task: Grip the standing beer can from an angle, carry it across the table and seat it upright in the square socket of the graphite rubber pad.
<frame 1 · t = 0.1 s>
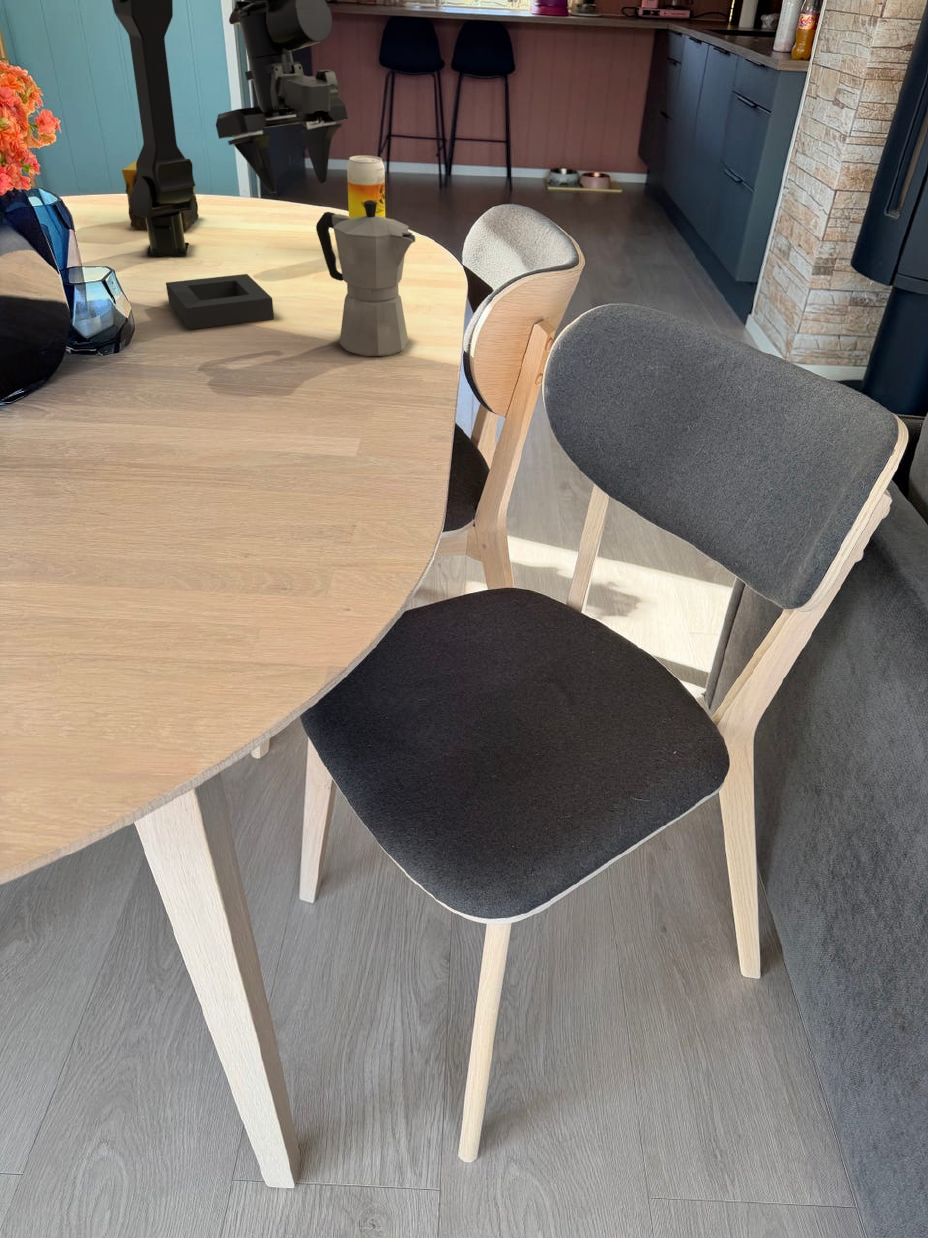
hand: (298, 187, 125), 15 cm above the table, tool pointing down, fingers open, 9 cm apart
socket pad: (220, 311, 129), on the table
coffeepot: (367, 343, 122), on the table
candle: (166, 225, 166), on the table
beer can: (368, 255, 155), on the table
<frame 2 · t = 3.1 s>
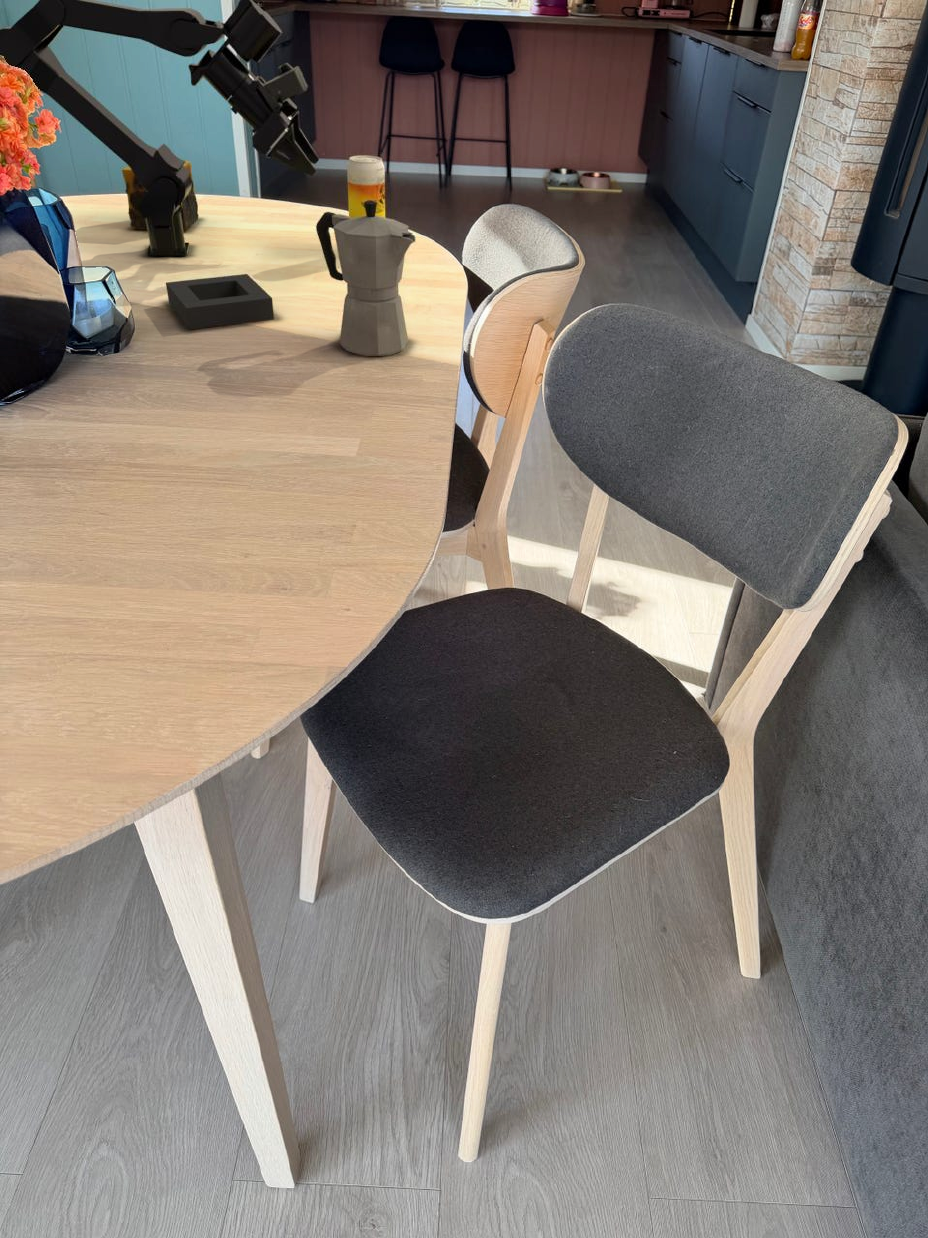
hand: (315, 167, 146), 14 cm above the table, tool tilted 45°, fingers open, 9 cm apart
nothing on the table moved.
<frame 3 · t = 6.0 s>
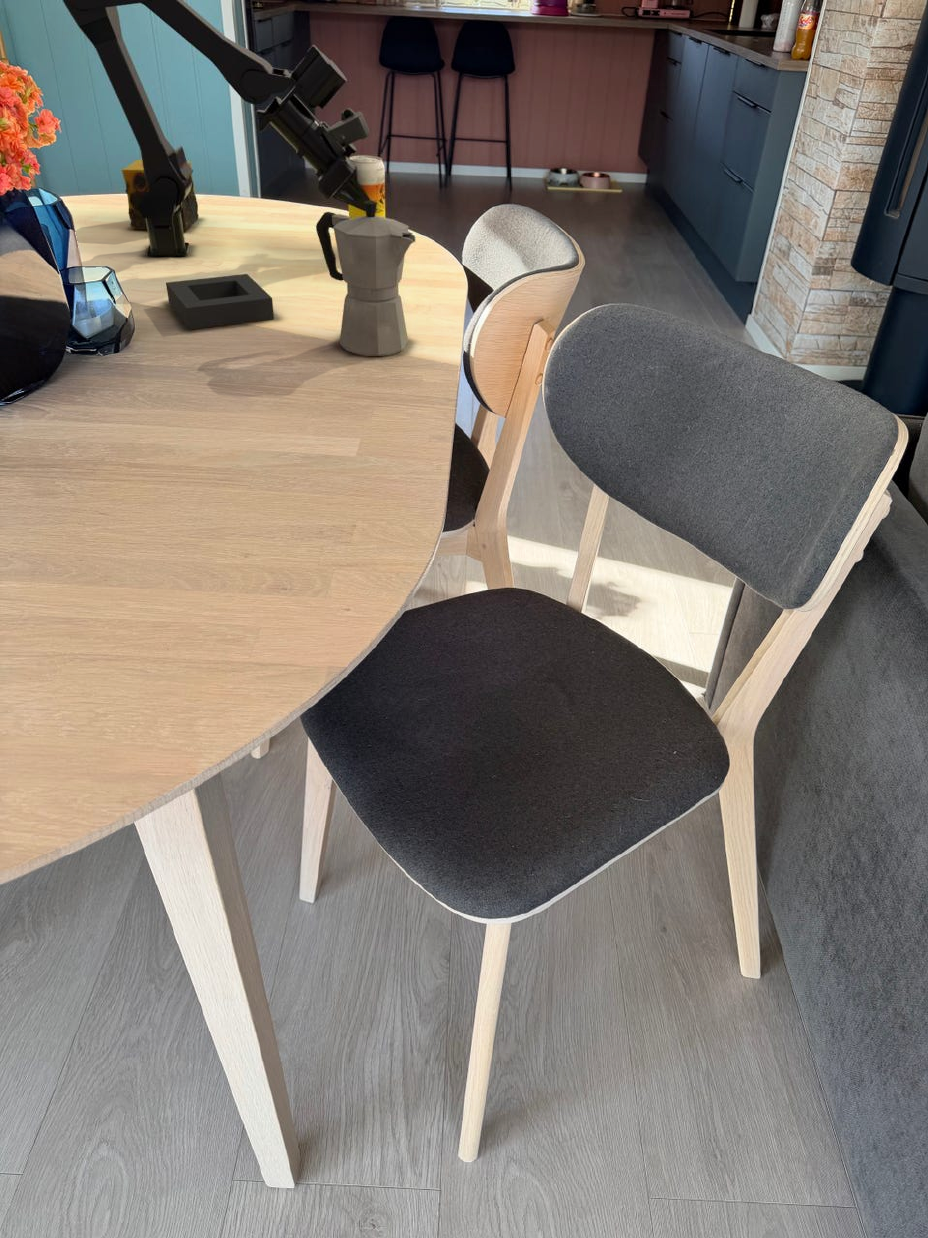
hand: (375, 207, 150), 8 cm above the table, tool tilted 45°, fingers closed on beer can, 6 cm apart
beer can: (368, 255, 155), on the table, touching gripper
everything else where it was.
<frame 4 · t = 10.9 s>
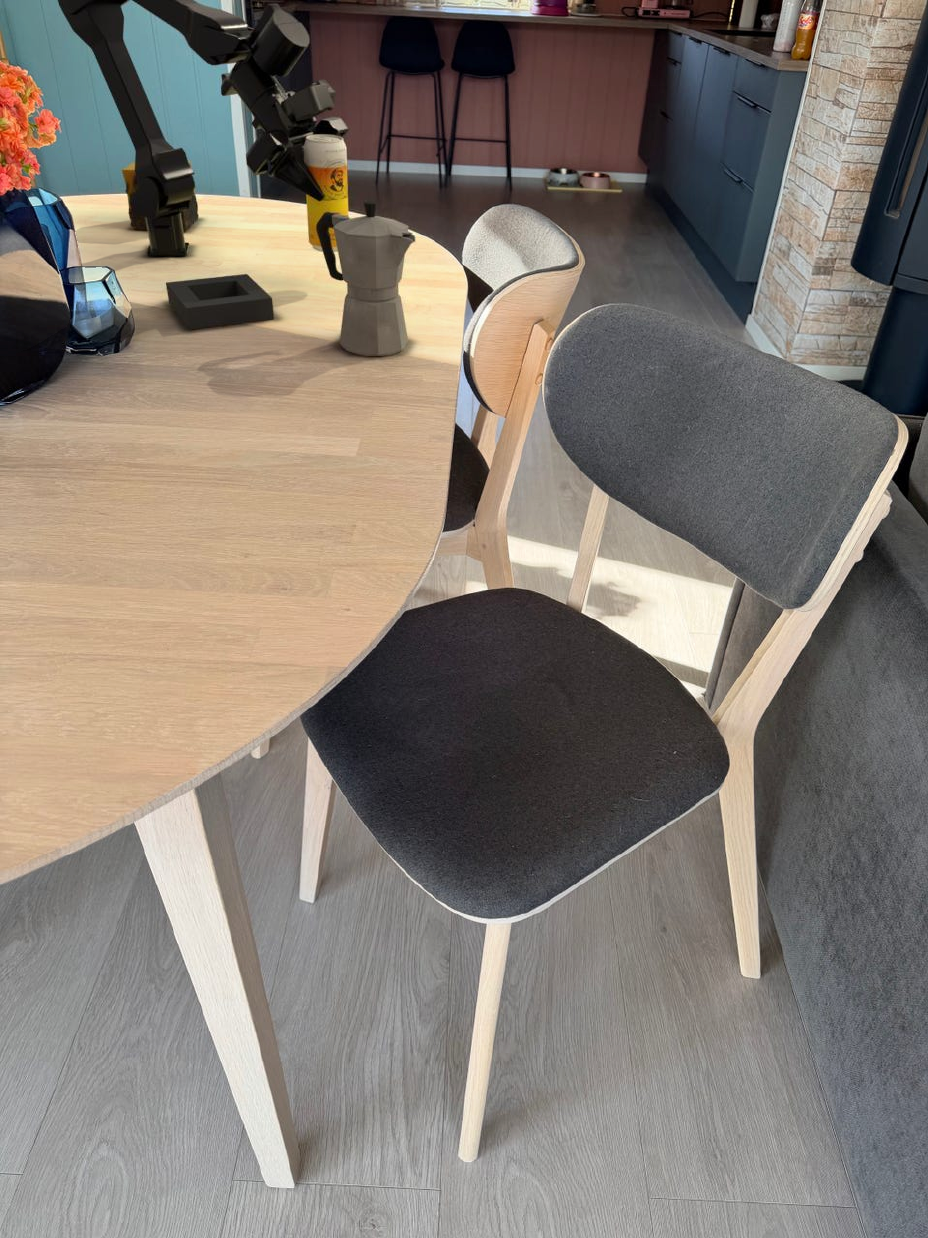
hand: (334, 195, 132), 13 cm above the table, tool tilted 45°, fingers closed on beer can, 6 cm apart
beer can: (329, 248, 137), point 5 cm above the table, touching gripper
everything else where it was.
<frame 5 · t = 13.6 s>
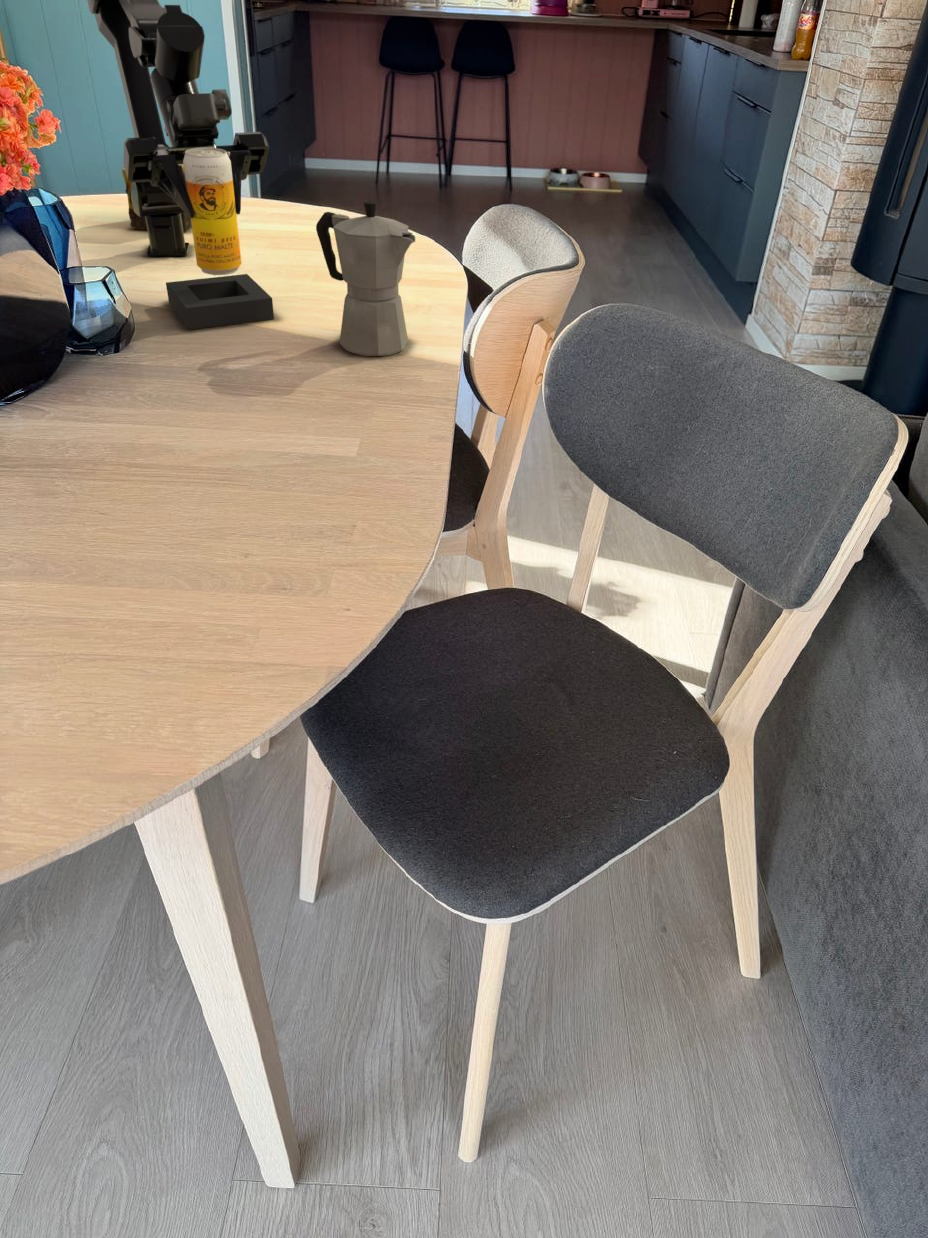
hand: (215, 214, 121), 13 cm above the table, tool tilted 45°, fingers closed on beer can, 6 cm apart
beer can: (220, 270, 126), point 5 cm above the table, touching gripper
everything else where it was.
when the fingers open (8 cm above the table, at t = 16.1 s): beer can stays where it is, resting in socket pad.
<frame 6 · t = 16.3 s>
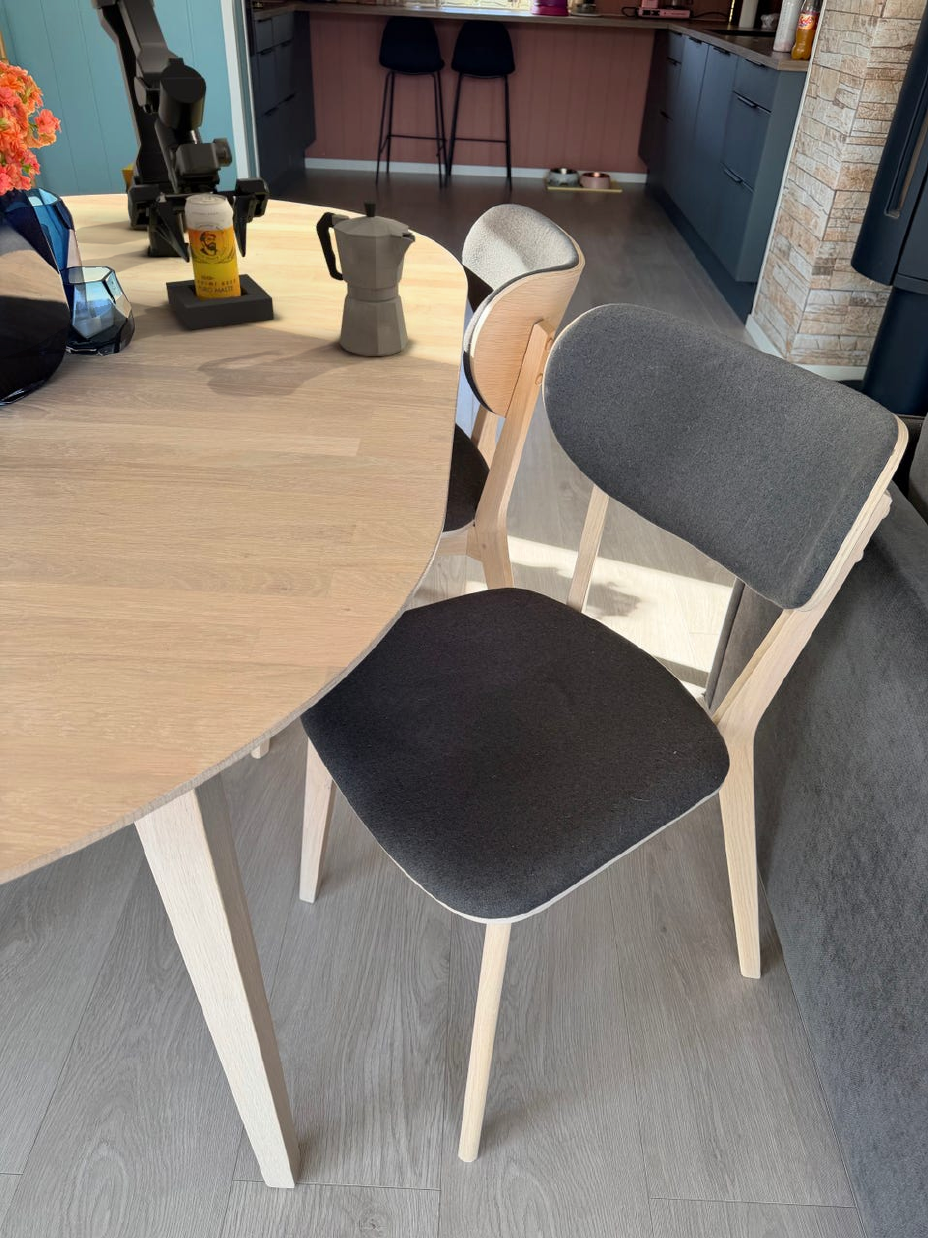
hand: (216, 258, 124), 8 cm above the table, tool tilted 45°, fingers open, 7 cm apart
beer can: (221, 312, 129), resting in socket pad
everything else where it was.
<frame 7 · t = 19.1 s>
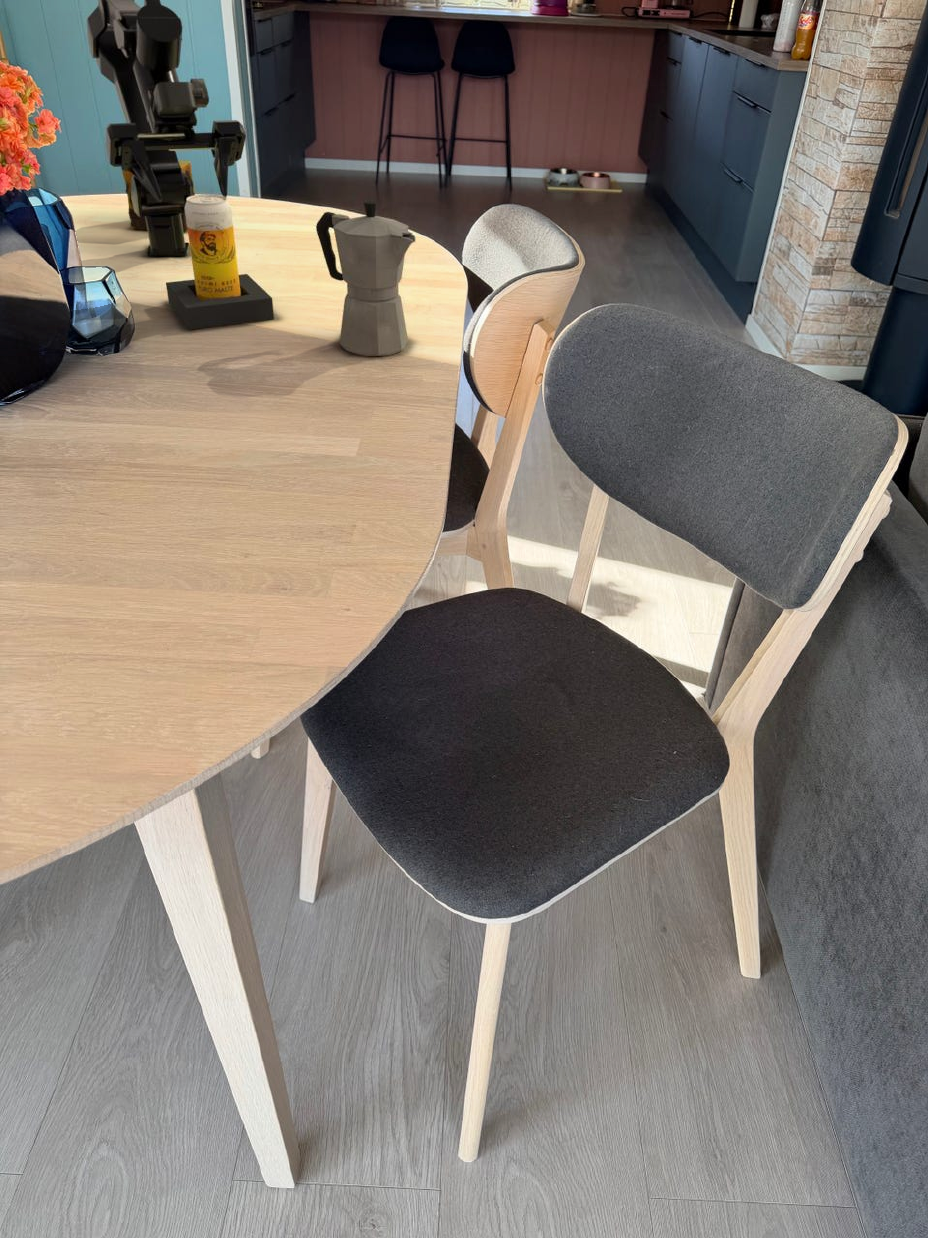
hand: (193, 197, 126), 14 cm above the table, tool tilted 45°, fingers open, 9 cm apart
nothing on the table moved.
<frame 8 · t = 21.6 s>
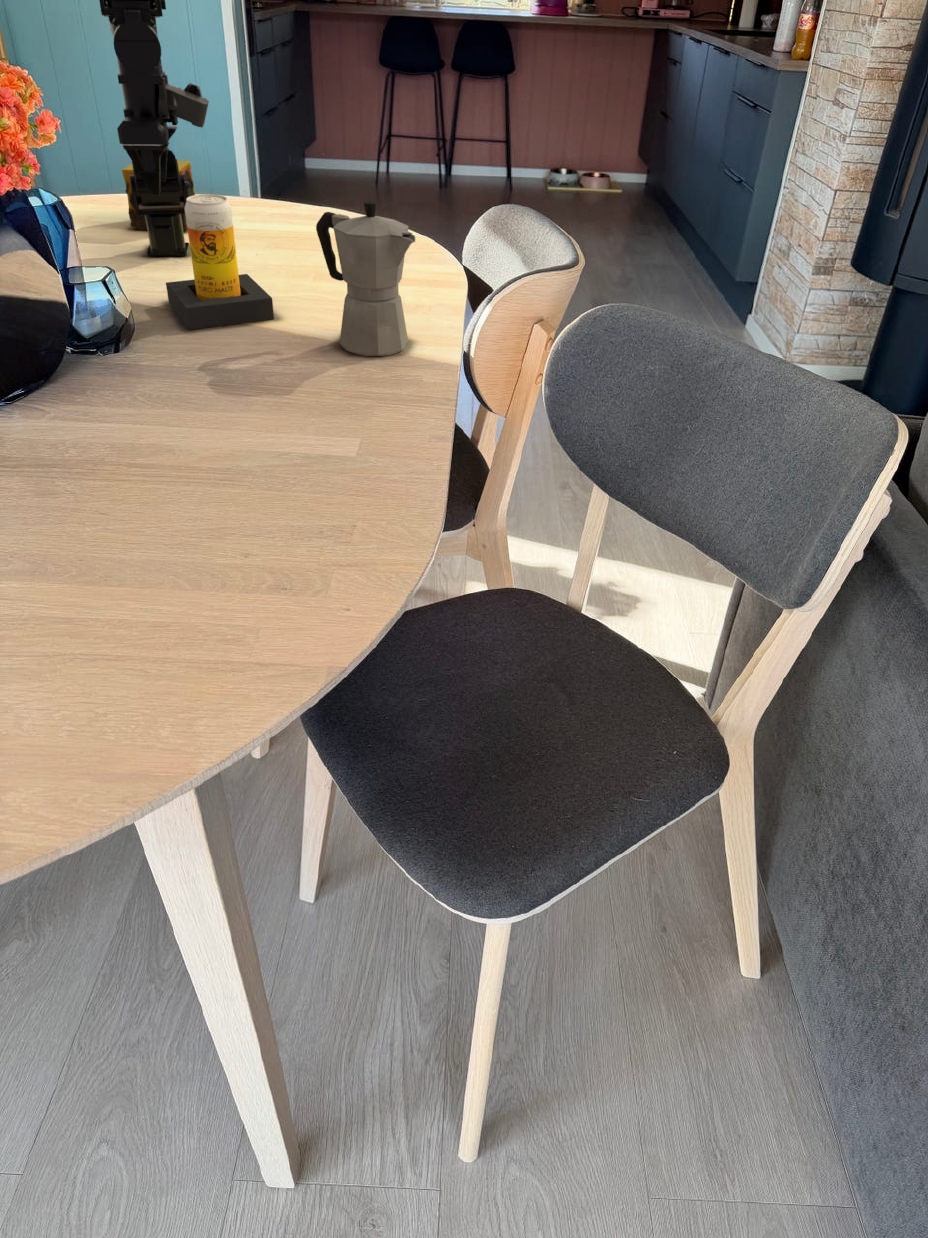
hand: (159, 188, 133), 13 cm above the table, tool pointing down, fingers open, 9 cm apart
nothing on the table moved.
at the end: beer can 0.1 cm off-centre in the socket pad, point 0.0 cm above the socket pad's base; beer can tilted 0°; the gripper is holding nothing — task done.
